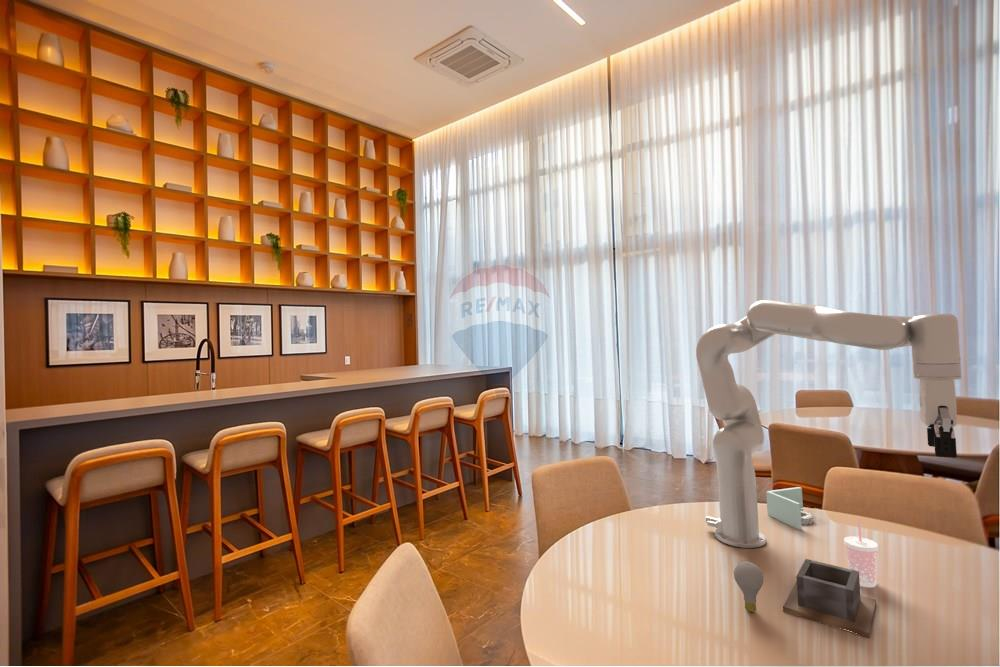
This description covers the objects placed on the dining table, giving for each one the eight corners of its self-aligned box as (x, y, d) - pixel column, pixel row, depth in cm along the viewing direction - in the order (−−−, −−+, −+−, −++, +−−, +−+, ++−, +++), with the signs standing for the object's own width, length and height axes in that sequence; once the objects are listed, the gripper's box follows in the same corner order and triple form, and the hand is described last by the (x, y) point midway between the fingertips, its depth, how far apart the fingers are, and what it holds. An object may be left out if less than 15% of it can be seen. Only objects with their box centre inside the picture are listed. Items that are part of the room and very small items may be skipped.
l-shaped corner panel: (799, 530, 134) (797, 503, 134) (767, 515, 146) (766, 491, 146) (834, 524, 137) (832, 499, 137) (800, 510, 148) (798, 486, 148)
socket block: (783, 611, 96) (780, 577, 96) (797, 583, 106) (795, 552, 107) (869, 638, 87) (866, 600, 87) (876, 604, 97) (874, 570, 97)
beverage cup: (871, 592, 101) (867, 527, 102) (840, 580, 107) (836, 518, 107) (886, 584, 104) (881, 520, 104) (855, 572, 110) (851, 512, 110)
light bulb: (769, 620, 93) (766, 569, 94) (740, 618, 95) (737, 568, 95) (760, 604, 99) (757, 557, 99) (732, 603, 100) (729, 556, 100)
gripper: (908, 368, 109) (913, 441, 109) (918, 375, 95) (924, 459, 95) (952, 368, 105) (957, 444, 105) (970, 375, 91) (975, 463, 91)
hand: (941, 451), depth 100 cm, fingers open, 9 cm apart
